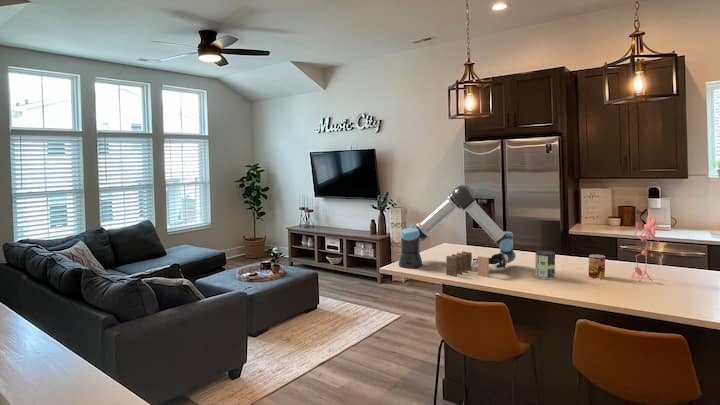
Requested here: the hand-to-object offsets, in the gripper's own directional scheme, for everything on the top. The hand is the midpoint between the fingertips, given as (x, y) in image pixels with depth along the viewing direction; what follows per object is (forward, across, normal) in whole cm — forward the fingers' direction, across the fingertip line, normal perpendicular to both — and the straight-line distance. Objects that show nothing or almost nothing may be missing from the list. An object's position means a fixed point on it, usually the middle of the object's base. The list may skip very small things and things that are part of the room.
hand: (482, 265), depth 243 cm
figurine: (-51, -72, -6) cm, 88 cm away
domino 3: (-2, +14, -6) cm, 15 cm away
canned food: (-39, -49, -6) cm, 63 cm away
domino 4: (-7, +14, -6) cm, 17 cm away
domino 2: (+4, +14, -6) cm, 16 cm away
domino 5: (-2, 0, -6) cm, 6 cm away
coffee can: (-21, -27, -6) cm, 35 cm away
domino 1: (+9, +14, -6) cm, 18 cm away
